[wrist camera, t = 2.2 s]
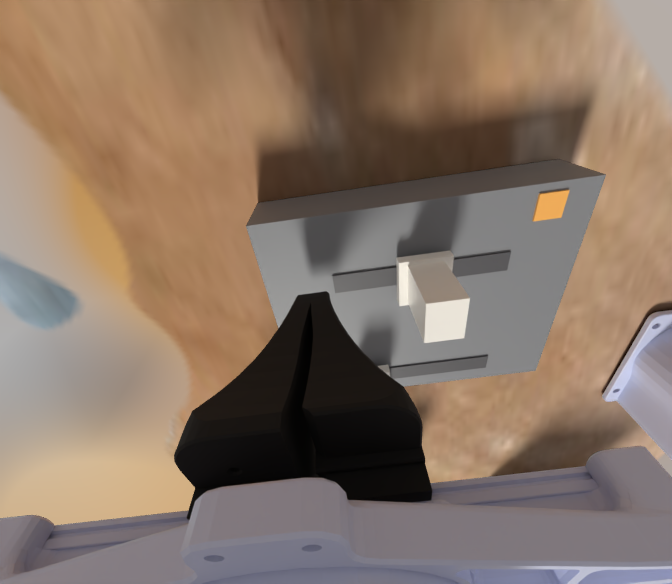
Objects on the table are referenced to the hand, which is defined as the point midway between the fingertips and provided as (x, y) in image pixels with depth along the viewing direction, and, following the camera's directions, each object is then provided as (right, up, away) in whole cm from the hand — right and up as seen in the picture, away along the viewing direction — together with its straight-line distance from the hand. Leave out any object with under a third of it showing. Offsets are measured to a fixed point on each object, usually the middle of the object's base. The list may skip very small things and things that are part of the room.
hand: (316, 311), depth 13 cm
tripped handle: (+5, +2, +1) cm, 5 cm away
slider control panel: (+5, +1, +5) cm, 8 cm away
